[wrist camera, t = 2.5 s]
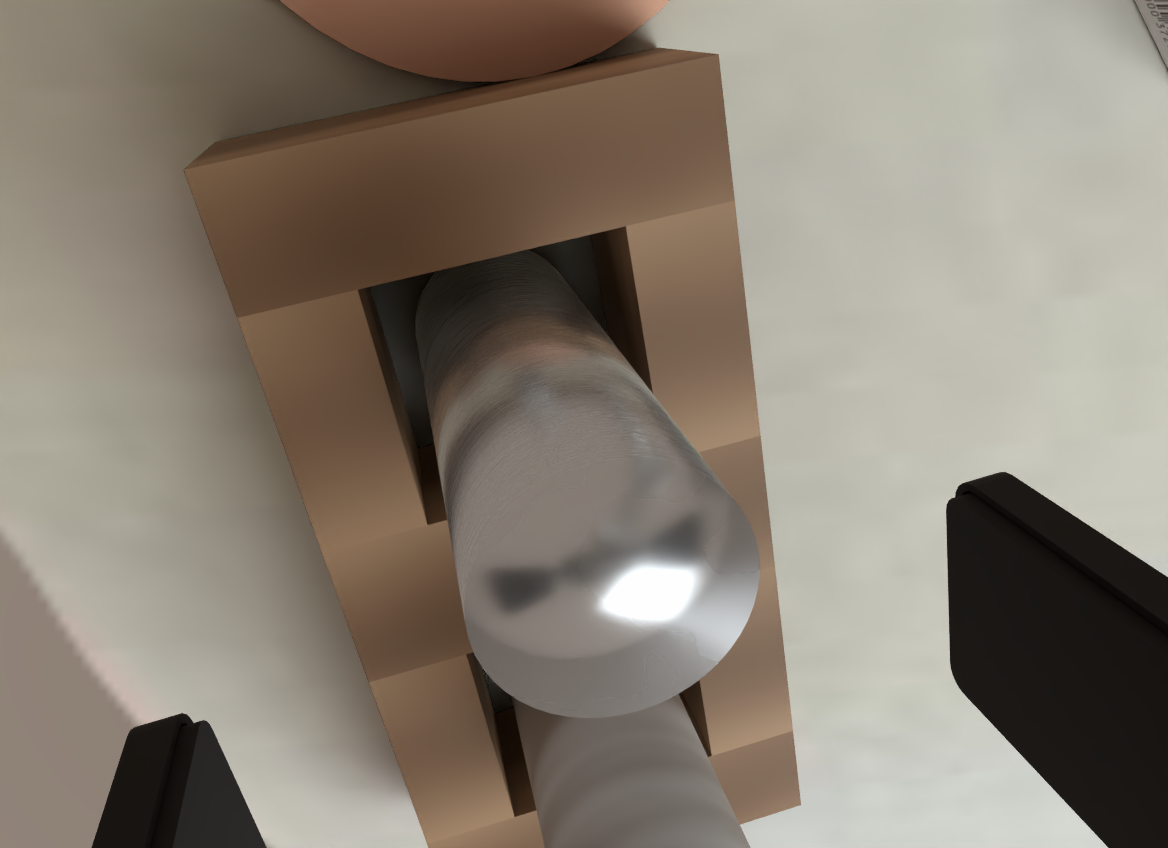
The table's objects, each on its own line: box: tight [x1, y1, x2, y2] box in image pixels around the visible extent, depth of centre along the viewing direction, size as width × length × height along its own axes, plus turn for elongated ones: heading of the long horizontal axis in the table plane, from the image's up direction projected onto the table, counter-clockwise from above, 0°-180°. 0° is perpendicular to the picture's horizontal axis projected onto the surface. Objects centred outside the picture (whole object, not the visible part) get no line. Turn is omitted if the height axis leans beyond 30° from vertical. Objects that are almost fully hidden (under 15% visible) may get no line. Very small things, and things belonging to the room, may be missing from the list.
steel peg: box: [415, 250, 760, 718], centre depth 18 cm, size 4×4×12 cm
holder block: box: [184, 48, 801, 848], centre depth 20 cm, size 20×10×12 cm, turn 11°
